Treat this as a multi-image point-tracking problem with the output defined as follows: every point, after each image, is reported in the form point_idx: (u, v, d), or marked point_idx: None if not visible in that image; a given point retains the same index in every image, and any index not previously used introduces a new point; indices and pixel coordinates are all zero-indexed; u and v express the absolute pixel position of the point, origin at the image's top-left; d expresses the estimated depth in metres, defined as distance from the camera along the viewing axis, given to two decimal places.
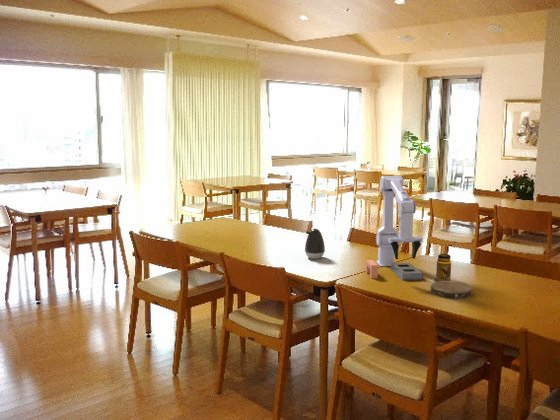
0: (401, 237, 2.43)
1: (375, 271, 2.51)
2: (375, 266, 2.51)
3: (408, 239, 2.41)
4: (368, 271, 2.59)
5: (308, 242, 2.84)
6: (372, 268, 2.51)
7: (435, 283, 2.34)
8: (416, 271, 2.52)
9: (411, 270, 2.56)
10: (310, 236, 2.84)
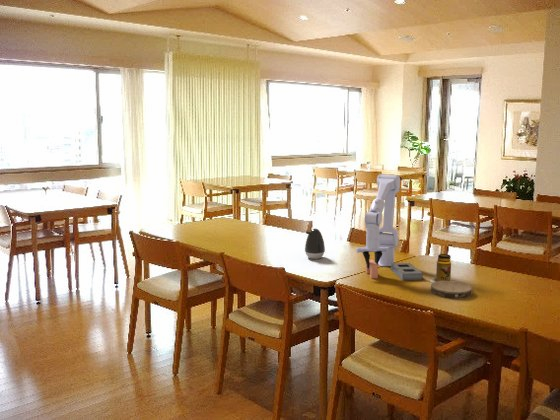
0: (368, 247, 2.53)
1: (375, 271, 2.51)
2: (375, 266, 2.51)
3: (374, 249, 2.51)
4: (368, 271, 2.59)
5: (308, 242, 2.84)
6: (372, 268, 2.51)
7: (435, 283, 2.34)
8: (416, 271, 2.52)
9: (411, 270, 2.56)
10: (310, 236, 2.84)
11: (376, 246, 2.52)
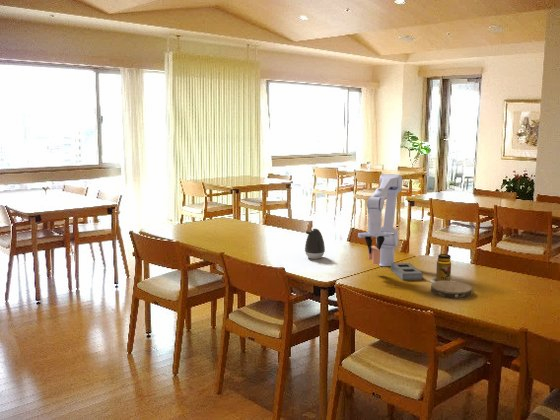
0: (370, 232, 2.52)
1: (377, 256, 2.50)
2: (377, 251, 2.50)
3: (376, 234, 2.50)
4: (370, 257, 2.58)
5: (308, 242, 2.84)
6: (374, 253, 2.50)
7: (435, 283, 2.34)
8: (416, 271, 2.52)
9: (411, 270, 2.56)
10: (310, 236, 2.84)
11: (378, 231, 2.51)
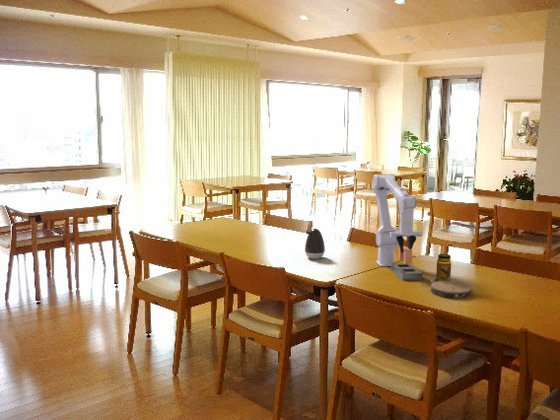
0: (402, 232, 2.53)
1: (409, 257, 2.52)
2: (409, 252, 2.51)
3: (408, 233, 2.51)
4: (401, 257, 2.60)
5: (308, 242, 2.84)
6: (406, 254, 2.51)
7: (435, 283, 2.34)
8: (416, 271, 2.52)
9: (411, 270, 2.56)
10: (310, 236, 2.84)
11: (410, 230, 2.52)
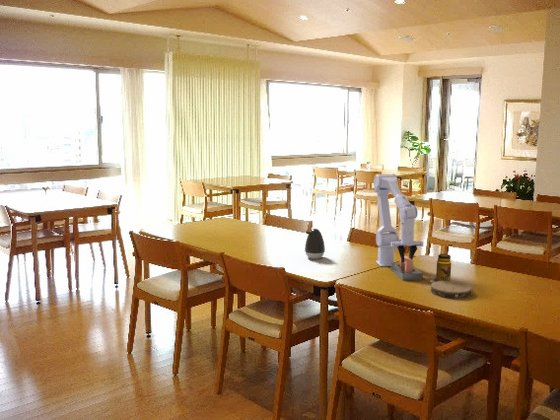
0: (403, 241, 2.54)
1: (410, 267, 2.52)
2: (410, 262, 2.52)
3: (409, 243, 2.52)
4: None
5: (308, 242, 2.84)
6: (407, 264, 2.52)
7: (435, 283, 2.34)
8: (416, 271, 2.52)
9: None
10: (310, 236, 2.84)
11: (411, 240, 2.53)
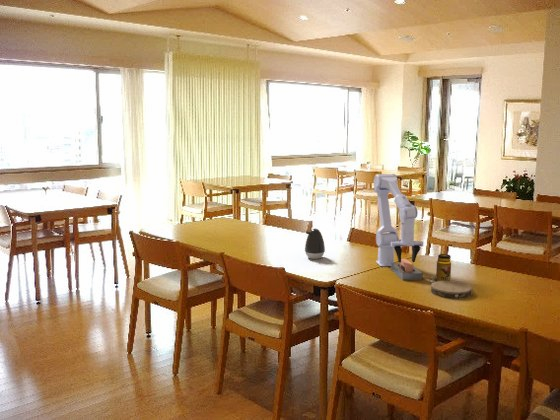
0: (403, 241, 2.54)
1: (410, 270, 2.53)
2: (410, 265, 2.52)
3: (409, 243, 2.52)
4: None
5: (308, 242, 2.84)
6: (407, 267, 2.52)
7: (435, 283, 2.34)
8: (416, 271, 2.52)
9: None
10: (310, 236, 2.84)
11: (411, 240, 2.53)
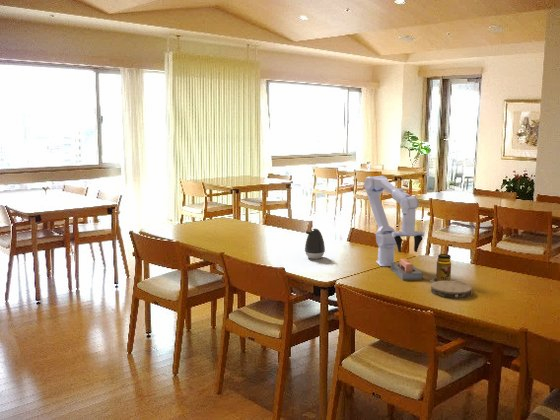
0: (404, 231, 2.58)
1: (410, 270, 2.53)
2: (410, 265, 2.52)
3: (410, 233, 2.57)
4: None
5: (308, 242, 2.84)
6: (407, 267, 2.52)
7: (435, 283, 2.34)
8: (416, 271, 2.52)
9: None
10: (310, 236, 2.84)
11: (412, 230, 2.57)
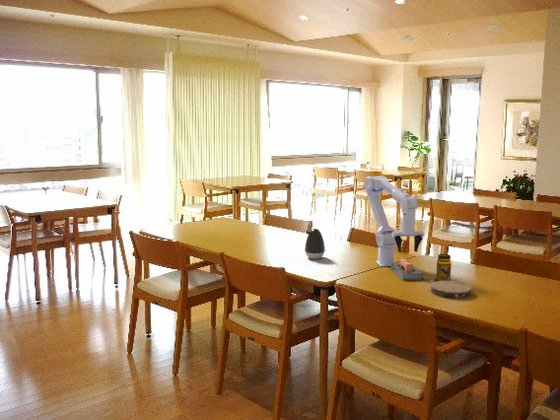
0: (404, 231, 2.58)
1: (410, 270, 2.53)
2: (410, 265, 2.52)
3: (410, 233, 2.57)
4: None
5: (308, 242, 2.84)
6: (407, 267, 2.52)
7: (435, 283, 2.34)
8: (416, 271, 2.52)
9: None
10: (310, 236, 2.84)
11: (412, 230, 2.57)
